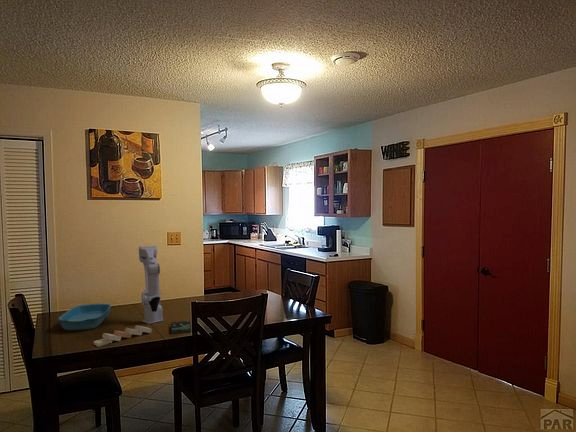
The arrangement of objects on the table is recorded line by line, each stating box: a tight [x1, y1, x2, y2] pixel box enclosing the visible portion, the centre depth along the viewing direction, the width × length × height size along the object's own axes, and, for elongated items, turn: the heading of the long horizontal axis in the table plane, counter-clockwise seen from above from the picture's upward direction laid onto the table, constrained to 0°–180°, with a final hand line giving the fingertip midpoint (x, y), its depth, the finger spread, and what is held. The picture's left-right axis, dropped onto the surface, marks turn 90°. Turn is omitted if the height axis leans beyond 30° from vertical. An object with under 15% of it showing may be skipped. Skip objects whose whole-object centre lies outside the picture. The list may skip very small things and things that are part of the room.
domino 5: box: [134, 324, 153, 334], centre depth 216 cm, size 2×5×7 cm
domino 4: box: [124, 327, 143, 336], centre depth 212 cm, size 2×5×7 cm
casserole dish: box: [58, 303, 112, 331], centre depth 237 cm, size 37×22×7 cm, turn 10°
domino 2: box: [101, 332, 122, 342], centre depth 203 cm, size 2×5×7 cm
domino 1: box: [93, 338, 114, 348], centre depth 201 cm, size 2×5×7 cm
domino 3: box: [113, 329, 133, 339], centre depth 208 cm, size 2×5×7 cm
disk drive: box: [170, 320, 192, 335], centre depth 222 cm, size 10×3×15 cm
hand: (154, 311), depth 224 cm, fingers closed
